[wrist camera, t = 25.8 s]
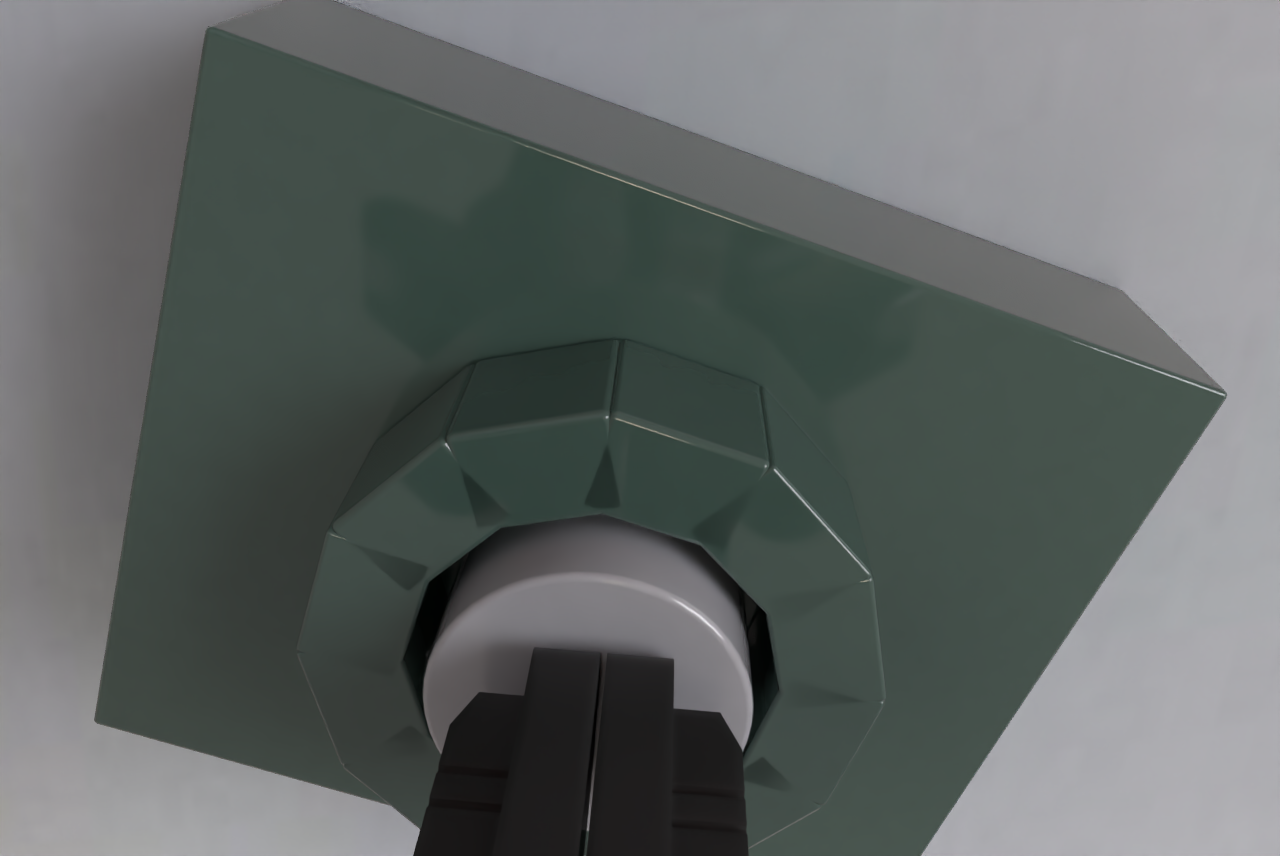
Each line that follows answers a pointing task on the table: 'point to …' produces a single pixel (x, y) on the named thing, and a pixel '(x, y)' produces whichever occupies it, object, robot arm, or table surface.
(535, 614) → the grey knob
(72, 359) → the table surface
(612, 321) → the green knob base
